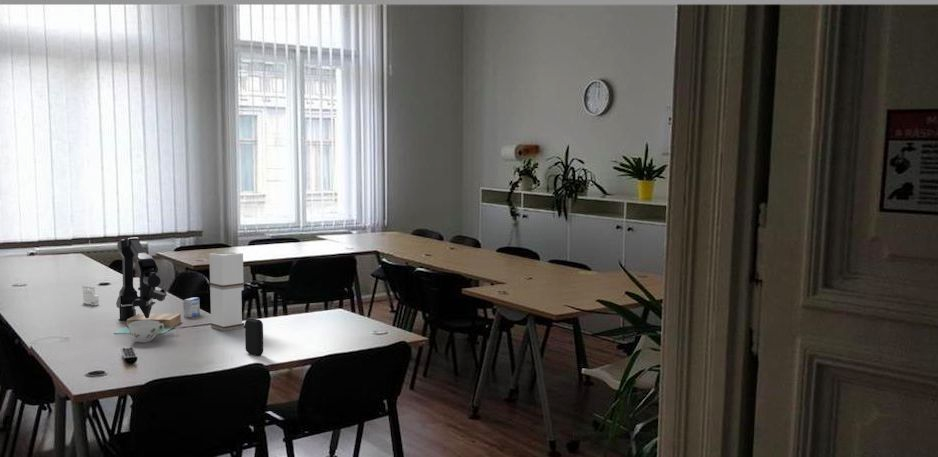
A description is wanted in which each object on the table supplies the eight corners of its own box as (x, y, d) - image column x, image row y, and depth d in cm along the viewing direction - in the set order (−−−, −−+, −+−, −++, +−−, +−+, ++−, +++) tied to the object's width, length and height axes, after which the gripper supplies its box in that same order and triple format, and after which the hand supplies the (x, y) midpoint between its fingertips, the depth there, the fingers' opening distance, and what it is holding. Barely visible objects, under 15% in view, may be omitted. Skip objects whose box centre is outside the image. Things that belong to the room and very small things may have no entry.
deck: (127, 328, 367) (126, 319, 367) (139, 321, 381) (138, 313, 381) (170, 328, 368) (170, 319, 367) (180, 322, 382) (180, 313, 381)
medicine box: (191, 317, 393) (191, 300, 393) (183, 316, 394) (182, 299, 393) (199, 314, 401) (199, 297, 400) (191, 313, 402) (191, 297, 401)
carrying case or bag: (242, 353, 322) (241, 317, 320) (248, 351, 324) (247, 316, 323) (259, 357, 315) (258, 320, 314) (265, 355, 318) (264, 319, 317)
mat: (113, 333, 355) (113, 333, 355) (124, 328, 367) (124, 327, 367) (162, 333, 356) (162, 333, 356) (172, 328, 368) (172, 327, 368)
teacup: (135, 345, 333) (134, 327, 332) (124, 340, 342) (123, 322, 341) (170, 340, 343) (169, 322, 343) (158, 335, 352) (158, 317, 352)
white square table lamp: (244, 327, 370) (242, 253, 367) (223, 331, 362) (222, 255, 359) (231, 324, 378) (230, 251, 375) (211, 327, 370) (209, 253, 367)
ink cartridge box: (87, 303, 430) (86, 285, 429) (99, 305, 424) (98, 287, 424) (82, 303, 428) (82, 285, 427) (94, 305, 422) (94, 287, 421)
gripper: (156, 288, 355) (157, 322, 357) (171, 281, 374) (172, 314, 375) (131, 288, 355) (132, 322, 357) (147, 281, 374) (148, 314, 375)
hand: (147, 318), depth 366 cm, fingers closed
